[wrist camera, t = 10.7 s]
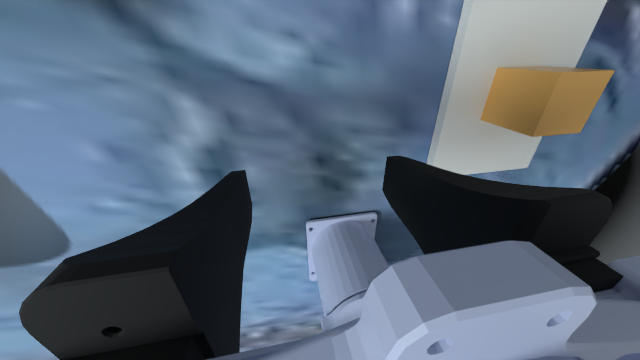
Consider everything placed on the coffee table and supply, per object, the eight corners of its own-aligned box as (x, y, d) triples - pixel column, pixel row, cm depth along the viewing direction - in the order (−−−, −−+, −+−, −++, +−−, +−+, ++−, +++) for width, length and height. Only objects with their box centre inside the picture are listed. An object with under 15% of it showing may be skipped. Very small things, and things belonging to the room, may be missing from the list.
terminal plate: (519, 163, 26) (561, 183, 23) (423, 174, 25) (452, 197, 21) (600, -16, 19) (686, -33, 15) (468, -19, 17) (527, -40, 13)
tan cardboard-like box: (520, 116, 22) (579, 132, 18) (480, 119, 21) (532, 136, 17) (541, 66, 20) (614, 70, 16) (497, 67, 19) (561, 72, 15)
